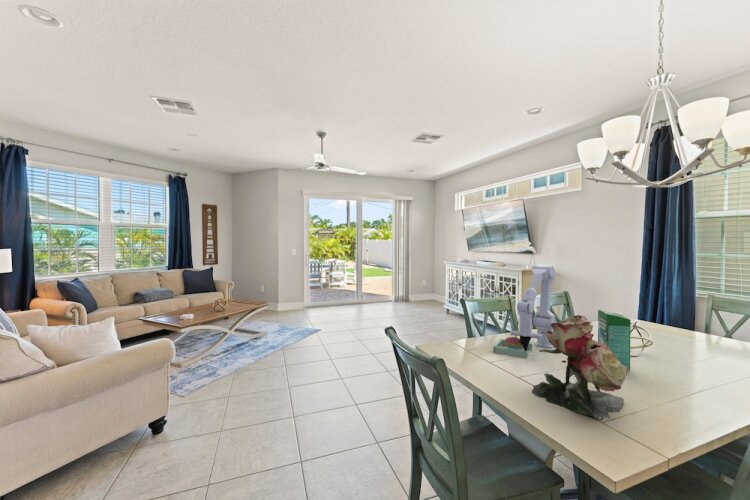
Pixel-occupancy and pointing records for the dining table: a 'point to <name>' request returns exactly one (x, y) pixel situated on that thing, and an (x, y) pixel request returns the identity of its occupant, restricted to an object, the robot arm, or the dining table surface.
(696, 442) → the dining table surface
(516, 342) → the cupcake
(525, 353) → the mint green u shape
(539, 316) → the robot arm
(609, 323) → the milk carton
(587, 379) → the rose bouquet
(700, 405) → the dining table surface
